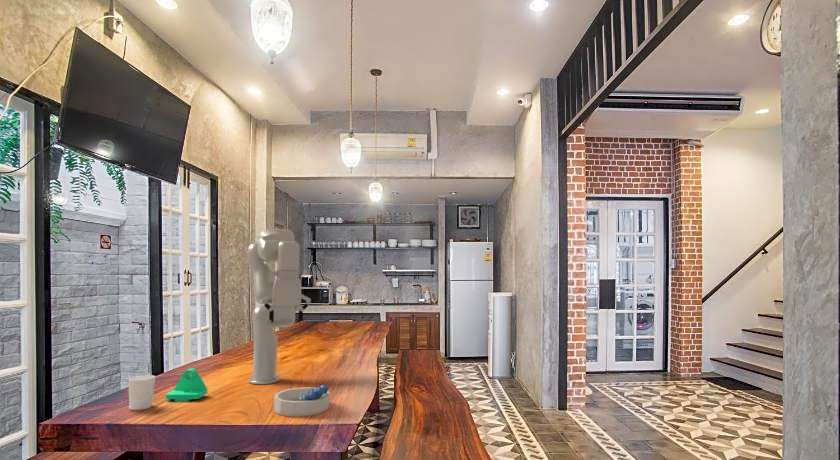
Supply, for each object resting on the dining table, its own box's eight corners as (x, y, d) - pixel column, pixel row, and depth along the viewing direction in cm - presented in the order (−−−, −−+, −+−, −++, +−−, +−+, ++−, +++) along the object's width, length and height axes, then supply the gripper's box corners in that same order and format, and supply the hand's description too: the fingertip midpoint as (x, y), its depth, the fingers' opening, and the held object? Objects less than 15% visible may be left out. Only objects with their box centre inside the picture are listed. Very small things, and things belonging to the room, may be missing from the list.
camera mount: (164, 402, 171) (165, 372, 172) (174, 396, 178) (176, 368, 179) (198, 402, 171) (199, 372, 172) (207, 396, 179) (208, 368, 180)
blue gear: (295, 419, 159) (319, 407, 154) (287, 400, 161) (310, 387, 155) (318, 405, 170) (341, 394, 164) (310, 388, 171) (333, 375, 166)
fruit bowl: (276, 402, 171) (276, 388, 172) (328, 399, 175) (328, 386, 176) (272, 418, 153) (272, 403, 154) (330, 414, 157) (330, 400, 158)
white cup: (134, 412, 158) (136, 381, 159) (122, 408, 163) (124, 378, 163) (158, 406, 165) (159, 376, 166) (146, 402, 169) (147, 374, 170)
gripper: (262, 275, 170) (260, 323, 169) (312, 276, 174) (310, 323, 173) (263, 274, 177) (262, 320, 176) (311, 274, 181) (309, 320, 181)
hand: (285, 321), depth 175 cm, fingers open, 9 cm apart
